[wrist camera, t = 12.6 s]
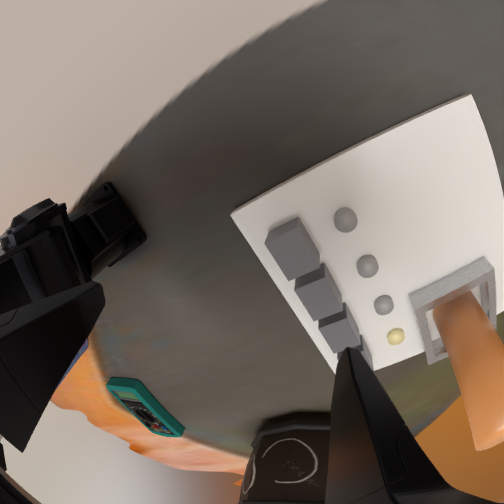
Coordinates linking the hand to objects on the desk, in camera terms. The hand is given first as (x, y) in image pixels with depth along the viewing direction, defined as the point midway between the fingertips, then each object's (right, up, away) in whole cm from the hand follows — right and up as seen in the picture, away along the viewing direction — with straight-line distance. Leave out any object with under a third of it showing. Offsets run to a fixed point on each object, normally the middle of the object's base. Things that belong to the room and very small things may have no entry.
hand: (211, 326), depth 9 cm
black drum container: (+10, -25, +26) cm, 38 cm away
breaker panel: (+14, +2, +11) cm, 17 cm away
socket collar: (+19, -2, +10) cm, 22 cm away
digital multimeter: (-16, -23, +31) cm, 42 cm away
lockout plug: (+19, -2, +10) cm, 22 cm away
